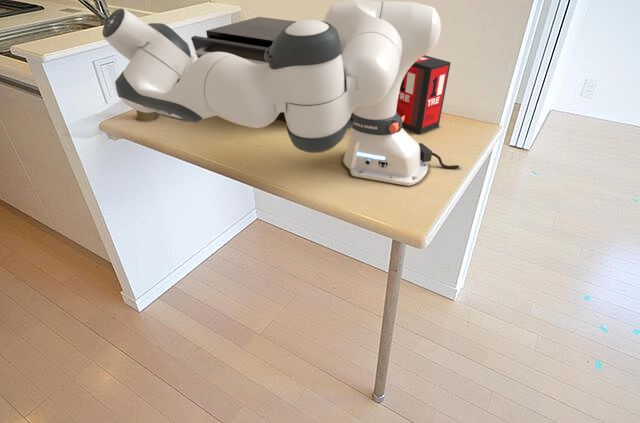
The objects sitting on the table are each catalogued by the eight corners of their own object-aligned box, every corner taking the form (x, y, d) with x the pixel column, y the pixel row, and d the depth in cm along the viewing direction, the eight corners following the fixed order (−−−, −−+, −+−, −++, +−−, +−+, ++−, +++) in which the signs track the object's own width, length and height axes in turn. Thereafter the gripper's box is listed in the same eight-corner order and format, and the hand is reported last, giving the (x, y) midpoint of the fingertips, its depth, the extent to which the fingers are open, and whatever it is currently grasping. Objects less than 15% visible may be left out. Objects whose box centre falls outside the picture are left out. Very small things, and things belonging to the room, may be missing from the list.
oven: (311, 125, 129) (310, 46, 115) (216, 102, 145) (206, 30, 131) (351, 98, 148) (354, 28, 134) (263, 80, 165) (258, 16, 151)
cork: (150, 121, 130) (142, 88, 124) (133, 120, 131) (124, 86, 125) (160, 114, 135) (152, 82, 129) (144, 113, 136) (135, 80, 130)
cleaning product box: (438, 126, 128) (450, 62, 116) (420, 134, 123) (431, 67, 112) (399, 111, 138) (407, 50, 127) (381, 117, 134) (387, 55, 122)
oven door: (301, 135, 125) (289, 62, 108) (205, 110, 141) (181, 43, 124) (311, 124, 128) (300, 52, 111) (216, 101, 144) (194, 35, 127)
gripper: (131, 69, 102) (169, 95, 114) (190, 82, 93) (224, 109, 106) (141, 46, 102) (178, 75, 115) (201, 58, 94) (233, 87, 106)
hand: (200, 91), depth 110 cm, fingers closed
